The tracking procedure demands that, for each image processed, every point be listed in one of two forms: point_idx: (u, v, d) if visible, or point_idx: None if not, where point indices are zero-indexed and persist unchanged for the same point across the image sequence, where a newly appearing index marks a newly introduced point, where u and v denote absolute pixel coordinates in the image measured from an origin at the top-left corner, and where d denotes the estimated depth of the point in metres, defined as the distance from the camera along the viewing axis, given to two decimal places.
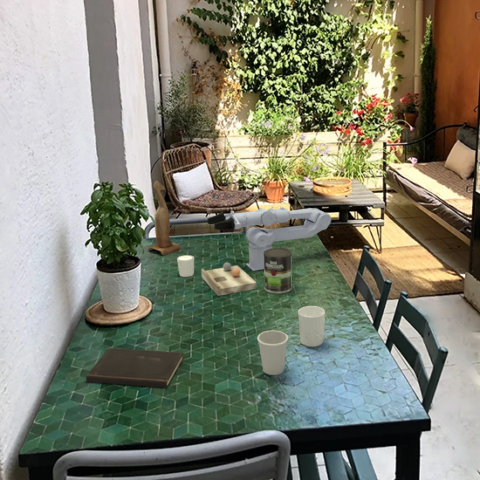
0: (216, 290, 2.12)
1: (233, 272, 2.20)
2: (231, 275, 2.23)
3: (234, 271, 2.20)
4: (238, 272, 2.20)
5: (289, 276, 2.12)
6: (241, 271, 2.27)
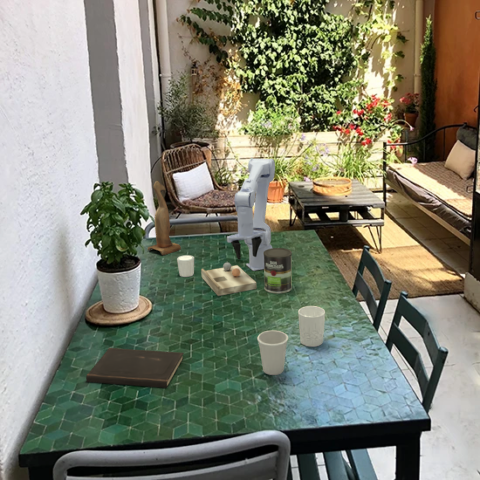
0: (216, 290, 2.12)
1: (233, 272, 2.20)
2: (231, 275, 2.23)
3: (234, 271, 2.20)
4: (238, 272, 2.20)
5: (289, 276, 2.12)
6: (241, 271, 2.27)
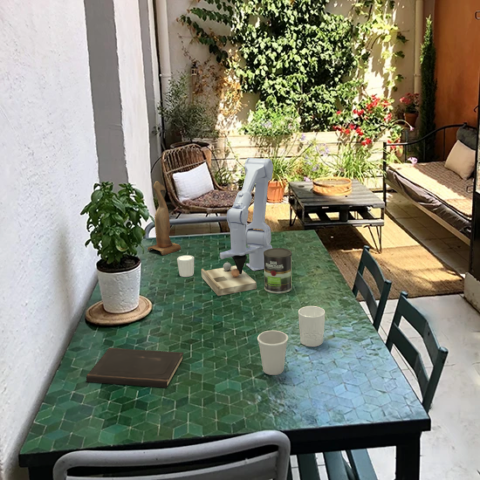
0: (216, 290, 2.12)
1: (232, 273, 2.20)
2: (231, 275, 2.23)
3: (233, 272, 2.20)
4: (237, 272, 2.20)
5: (289, 276, 2.12)
6: None
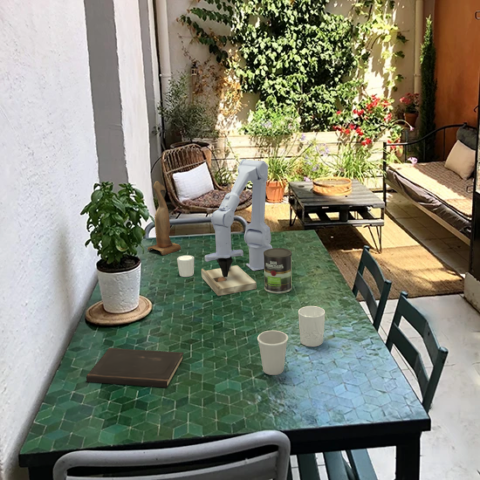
0: (216, 290, 2.12)
1: (225, 279, 2.20)
2: (231, 275, 2.23)
3: (225, 280, 2.20)
4: None
5: (289, 276, 2.12)
6: (241, 271, 2.27)
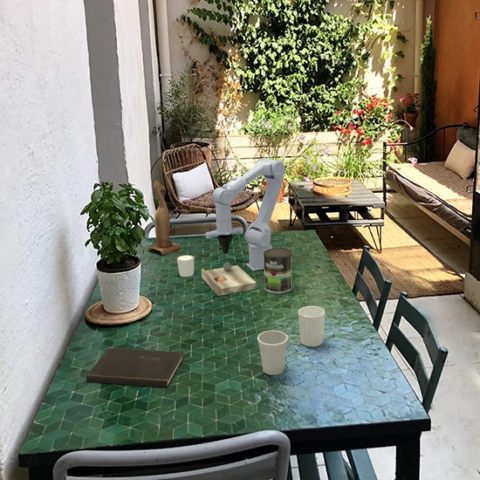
0: (216, 290, 2.12)
1: (224, 279, 2.20)
2: (231, 275, 2.23)
3: (225, 280, 2.20)
4: None
5: (289, 276, 2.12)
6: (241, 271, 2.27)
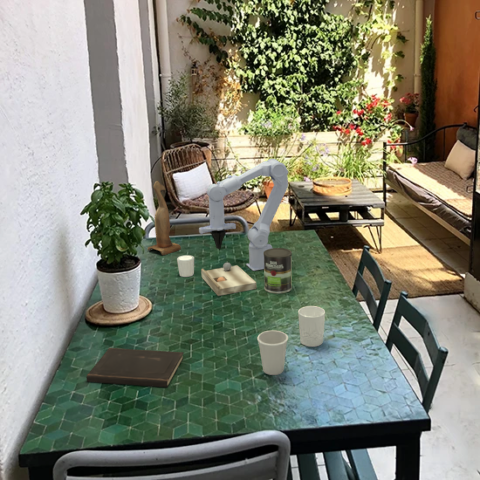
0: (216, 290, 2.12)
1: None
2: (231, 275, 2.23)
3: None
4: None
5: (289, 276, 2.12)
6: (241, 271, 2.27)
